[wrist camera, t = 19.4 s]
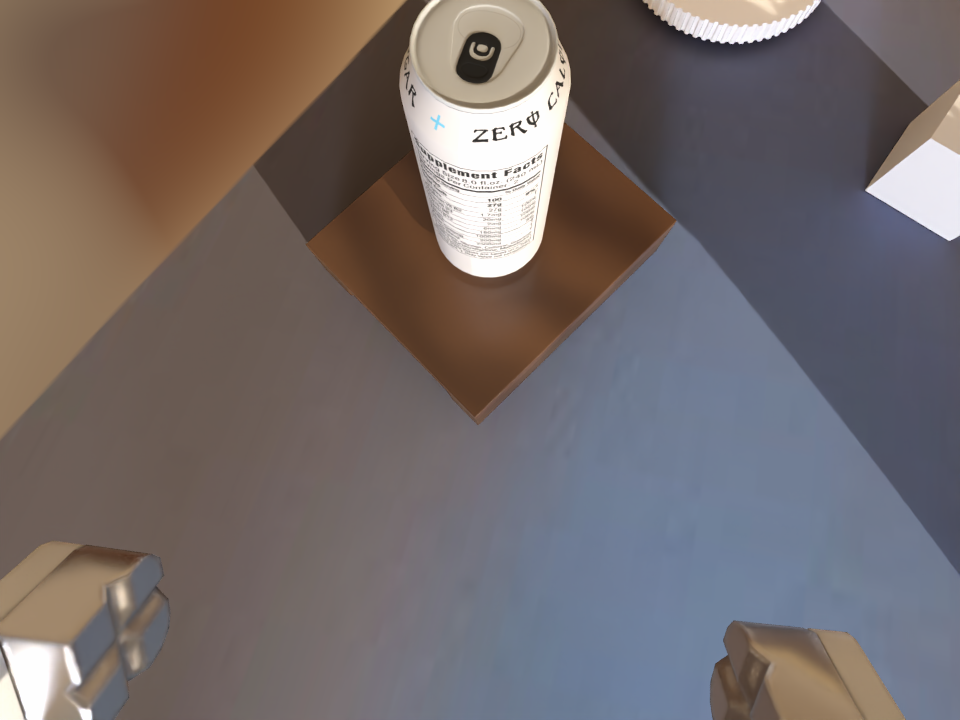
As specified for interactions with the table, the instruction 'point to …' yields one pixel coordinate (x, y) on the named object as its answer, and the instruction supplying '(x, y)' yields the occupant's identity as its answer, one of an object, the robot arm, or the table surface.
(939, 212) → the white cube
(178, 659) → the table surface
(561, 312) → the platform
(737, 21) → the plastic lid
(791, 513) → the table surface
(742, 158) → the table surface
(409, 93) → the energy drink can
